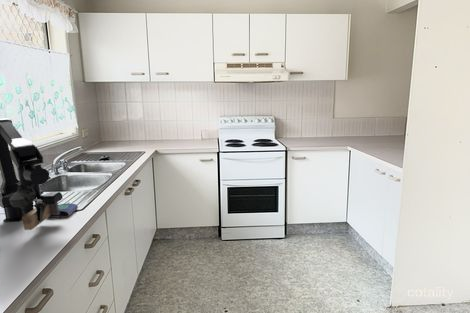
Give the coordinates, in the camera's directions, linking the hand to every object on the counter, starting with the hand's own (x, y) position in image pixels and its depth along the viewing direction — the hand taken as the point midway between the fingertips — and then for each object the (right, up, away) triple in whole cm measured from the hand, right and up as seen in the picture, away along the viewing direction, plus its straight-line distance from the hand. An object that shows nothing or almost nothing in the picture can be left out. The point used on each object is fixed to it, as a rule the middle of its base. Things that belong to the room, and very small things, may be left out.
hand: (36, 220), depth 116 cm
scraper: (0, -1, +2) cm, 2 cm away
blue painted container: (0, 0, +13) cm, 13 cm away
